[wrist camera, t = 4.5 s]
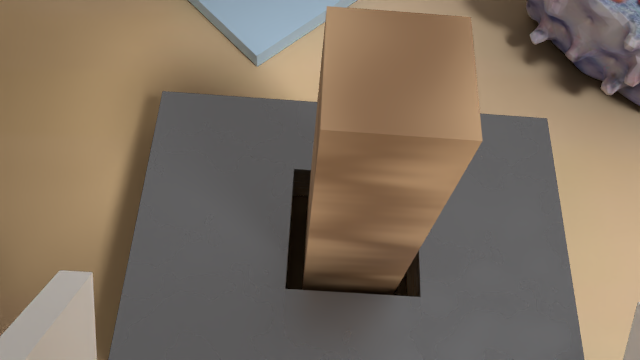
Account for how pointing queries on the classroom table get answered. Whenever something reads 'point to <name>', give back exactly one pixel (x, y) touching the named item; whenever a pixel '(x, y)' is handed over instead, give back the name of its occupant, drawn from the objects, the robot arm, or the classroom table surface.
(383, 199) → the walnut peg
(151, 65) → the classroom table surface
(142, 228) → the socket block
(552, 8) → the cell model
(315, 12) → the blue board
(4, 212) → the classroom table surface
